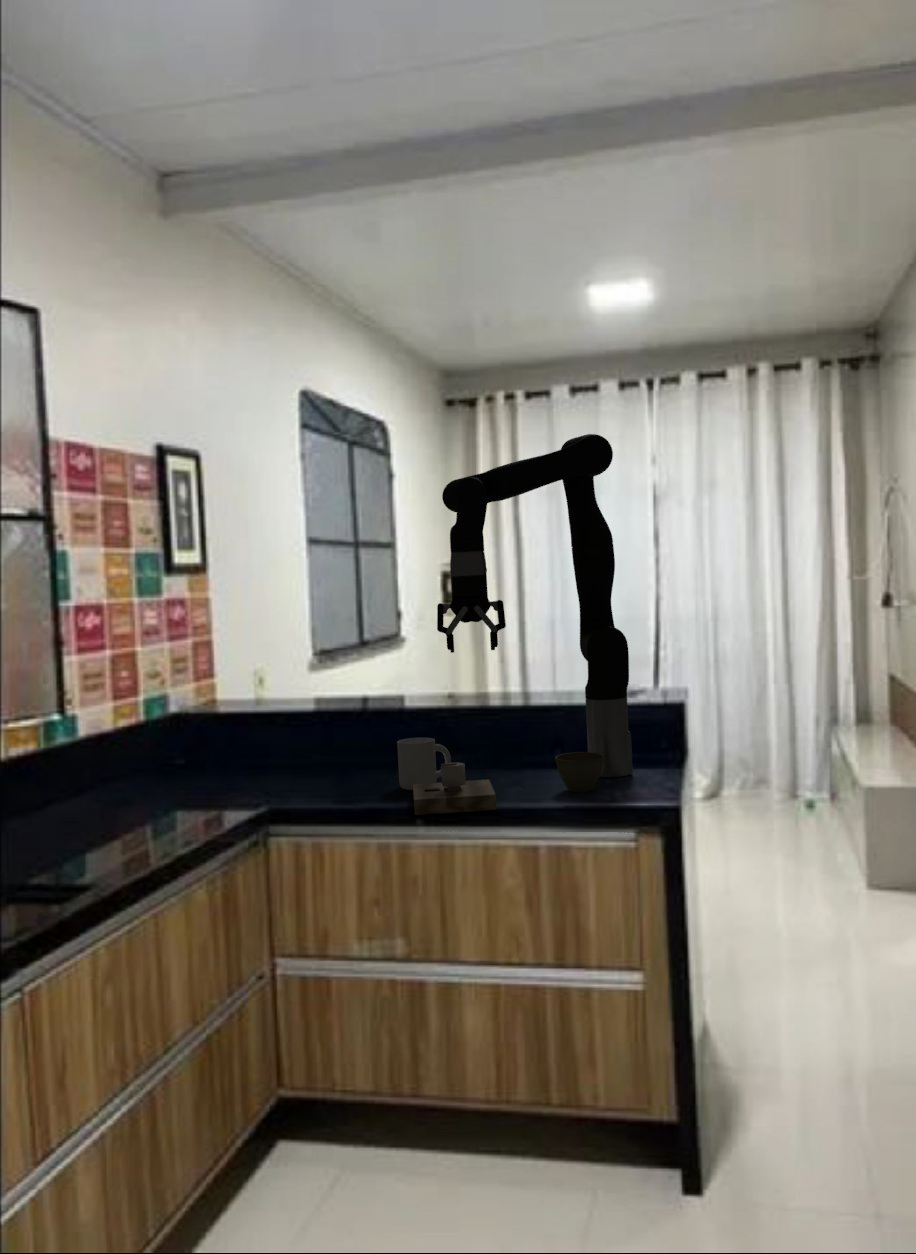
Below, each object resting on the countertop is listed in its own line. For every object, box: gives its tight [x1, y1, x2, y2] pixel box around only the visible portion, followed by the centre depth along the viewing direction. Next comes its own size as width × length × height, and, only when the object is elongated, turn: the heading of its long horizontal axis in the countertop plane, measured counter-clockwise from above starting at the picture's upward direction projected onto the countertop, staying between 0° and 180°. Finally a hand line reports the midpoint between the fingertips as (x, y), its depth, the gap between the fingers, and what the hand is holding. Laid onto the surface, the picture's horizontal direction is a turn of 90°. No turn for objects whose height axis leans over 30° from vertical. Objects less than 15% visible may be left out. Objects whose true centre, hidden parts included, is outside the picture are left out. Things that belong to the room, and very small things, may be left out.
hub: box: [412, 779, 497, 816], centre depth 222 cm, size 16×16×3 cm
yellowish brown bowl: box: [554, 751, 603, 793], centre depth 229 cm, size 10×10×7 cm
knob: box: [440, 762, 467, 791], centre depth 222 cm, size 5×5×8 cm
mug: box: [396, 737, 452, 791], centre depth 242 cm, size 12×8×10 cm
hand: (472, 651), depth 230 cm, fingers open, 8 cm apart
